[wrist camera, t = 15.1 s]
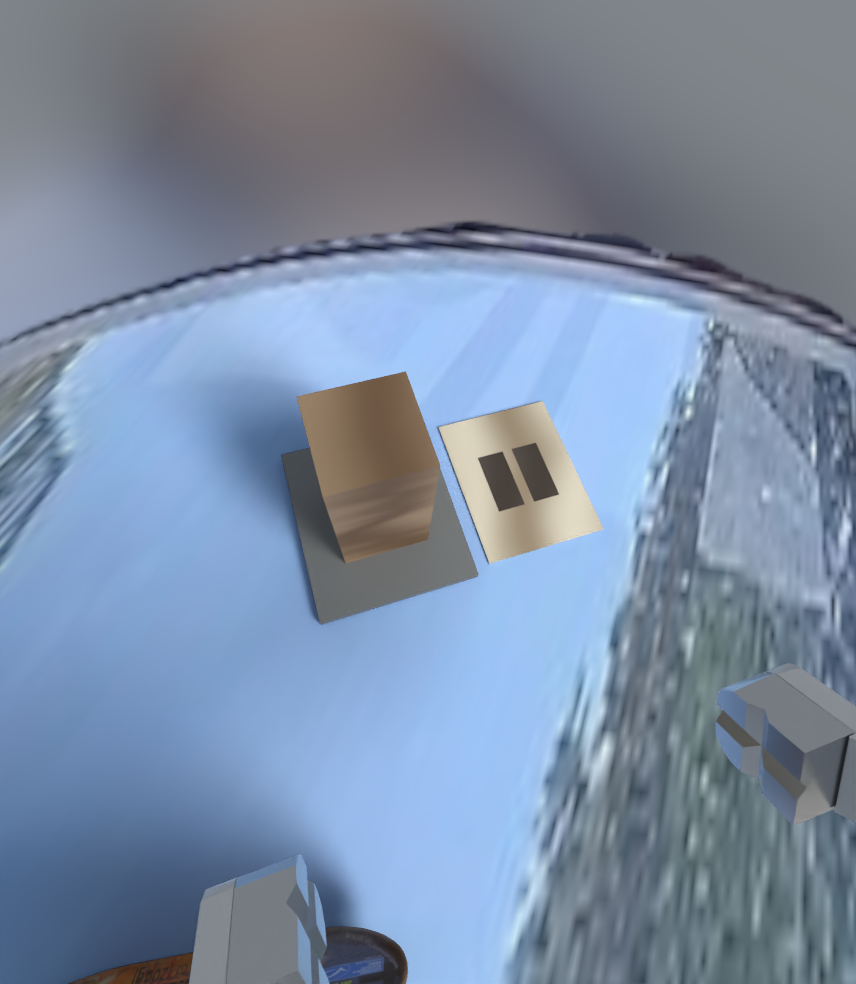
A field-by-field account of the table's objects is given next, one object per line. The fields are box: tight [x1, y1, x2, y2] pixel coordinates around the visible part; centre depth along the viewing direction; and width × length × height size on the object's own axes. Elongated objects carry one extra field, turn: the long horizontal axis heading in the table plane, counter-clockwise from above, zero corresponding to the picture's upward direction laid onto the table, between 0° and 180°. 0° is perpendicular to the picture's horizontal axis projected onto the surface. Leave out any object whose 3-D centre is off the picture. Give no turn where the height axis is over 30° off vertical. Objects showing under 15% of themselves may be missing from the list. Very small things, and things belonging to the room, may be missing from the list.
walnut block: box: [297, 372, 440, 563], centre depth 24 cm, size 5×5×9 cm
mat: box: [281, 448, 478, 624], centre depth 29 cm, size 9×10×1 cm
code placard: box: [439, 401, 603, 564], centre depth 30 cm, size 7×9×1 cm
